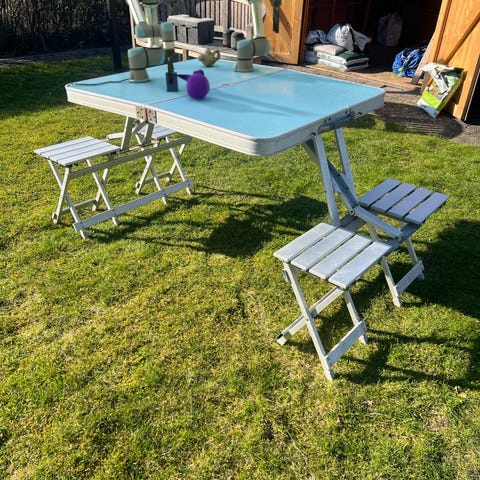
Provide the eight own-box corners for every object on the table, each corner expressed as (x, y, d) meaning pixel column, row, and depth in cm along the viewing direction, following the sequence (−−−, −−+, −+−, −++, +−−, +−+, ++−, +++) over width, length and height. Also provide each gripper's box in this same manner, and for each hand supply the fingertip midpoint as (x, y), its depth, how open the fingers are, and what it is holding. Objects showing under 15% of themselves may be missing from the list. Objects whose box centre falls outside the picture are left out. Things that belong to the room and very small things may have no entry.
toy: (198, 91, 303) (209, 105, 283) (173, 86, 296) (182, 100, 275) (203, 67, 295) (215, 79, 275) (177, 62, 288) (187, 74, 267)
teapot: (201, 68, 381) (200, 49, 373) (195, 66, 389) (194, 48, 382) (223, 65, 390) (222, 47, 382) (217, 64, 399) (216, 45, 391)
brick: (178, 90, 310) (177, 71, 304) (178, 91, 306) (176, 73, 300) (167, 90, 310) (165, 72, 304) (167, 91, 306) (165, 73, 300)
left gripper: (164, 45, 305) (167, 78, 315) (161, 51, 283) (164, 86, 294) (175, 45, 305) (178, 78, 316) (173, 51, 284) (176, 85, 294)
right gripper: (269, -2, 329) (268, 30, 340) (273, 0, 307) (272, 34, 318) (279, -2, 329) (278, 30, 340) (284, 0, 308) (283, 33, 318)
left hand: (171, 82), depth 305 cm, fingers open, 13 cm apart
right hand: (275, 32), depth 329 cm, fingers open, 13 cm apart
